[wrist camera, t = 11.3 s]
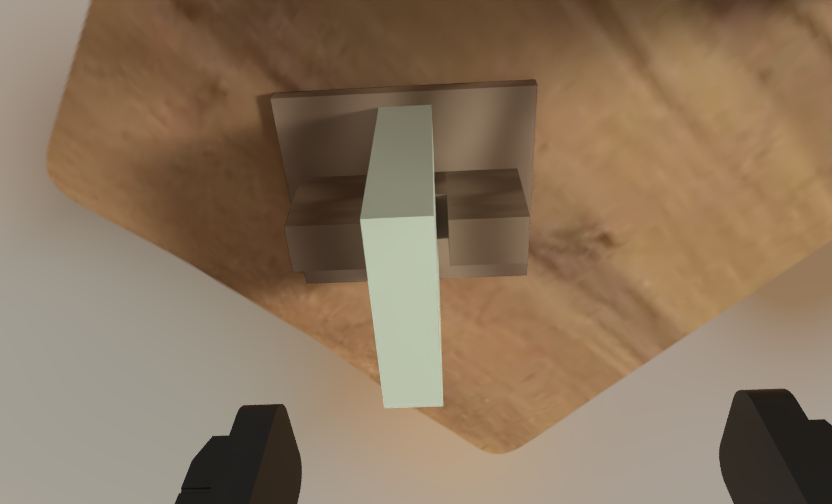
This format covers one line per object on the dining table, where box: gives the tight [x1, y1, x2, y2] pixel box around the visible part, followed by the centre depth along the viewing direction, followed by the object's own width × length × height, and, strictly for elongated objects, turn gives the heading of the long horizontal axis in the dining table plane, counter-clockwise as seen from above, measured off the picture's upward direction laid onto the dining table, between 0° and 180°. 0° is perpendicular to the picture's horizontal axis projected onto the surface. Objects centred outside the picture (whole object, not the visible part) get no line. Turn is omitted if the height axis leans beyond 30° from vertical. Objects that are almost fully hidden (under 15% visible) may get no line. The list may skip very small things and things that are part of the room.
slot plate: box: [270, 80, 538, 284], centre depth 39 cm, size 16×14×7 cm
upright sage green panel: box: [360, 105, 443, 408], centre depth 36 cm, size 3×12×13 cm, turn 3°
